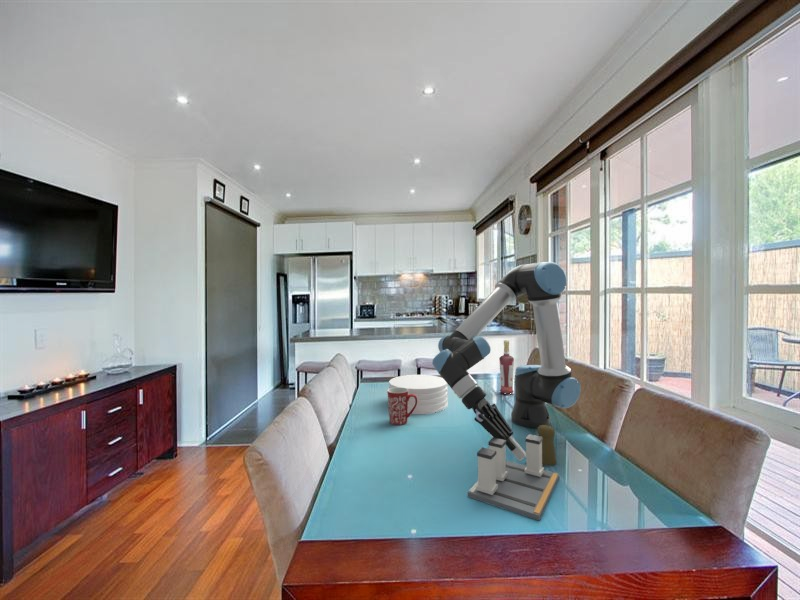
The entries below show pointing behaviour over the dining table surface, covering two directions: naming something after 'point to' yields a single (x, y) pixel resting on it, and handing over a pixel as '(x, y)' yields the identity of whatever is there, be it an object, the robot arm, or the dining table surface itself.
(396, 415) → the mug
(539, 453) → the lever
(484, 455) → the lever far
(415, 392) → the plate stack
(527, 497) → the panel
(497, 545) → the dining table surface
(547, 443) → the cork
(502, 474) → the lever mid
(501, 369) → the liquor
